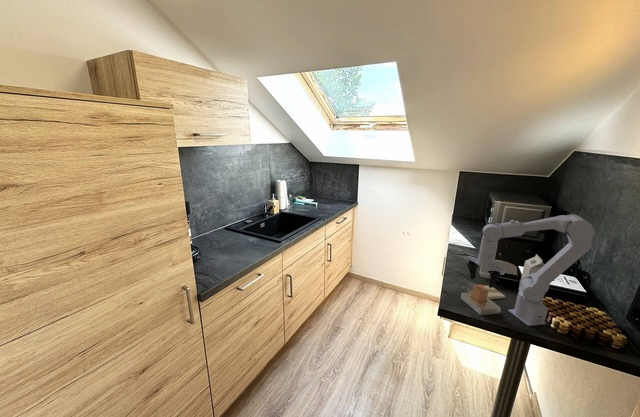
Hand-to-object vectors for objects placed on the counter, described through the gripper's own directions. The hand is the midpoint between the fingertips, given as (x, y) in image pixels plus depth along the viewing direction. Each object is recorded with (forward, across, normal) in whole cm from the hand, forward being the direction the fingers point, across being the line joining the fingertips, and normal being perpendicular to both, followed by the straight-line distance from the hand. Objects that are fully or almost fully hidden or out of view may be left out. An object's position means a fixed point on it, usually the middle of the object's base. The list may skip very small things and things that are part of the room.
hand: (481, 282), depth 111 cm
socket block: (+10, -1, 0) cm, 10 cm away
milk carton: (+10, -8, -28) cm, 31 cm away
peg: (+10, 0, 0) cm, 10 cm away
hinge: (+11, +8, -33) cm, 35 cm away
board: (+10, +2, -13) cm, 17 cm away
